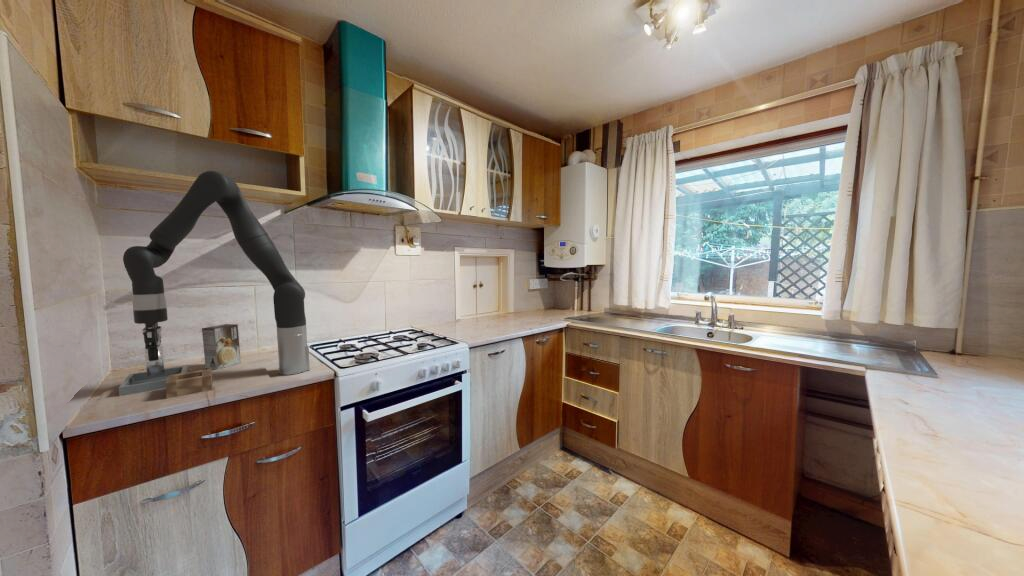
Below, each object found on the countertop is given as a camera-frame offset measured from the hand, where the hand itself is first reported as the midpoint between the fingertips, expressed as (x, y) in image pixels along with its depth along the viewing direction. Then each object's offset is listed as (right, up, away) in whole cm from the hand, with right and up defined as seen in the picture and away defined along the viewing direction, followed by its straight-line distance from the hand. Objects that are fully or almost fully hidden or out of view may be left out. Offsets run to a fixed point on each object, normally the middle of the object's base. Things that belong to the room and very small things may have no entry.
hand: (154, 358), depth 112 cm
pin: (0, -5, 0) cm, 5 cm away
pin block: (+17, -10, -5) cm, 21 cm away
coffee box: (+4, -8, +22) cm, 24 cm away
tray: (0, -9, +1) cm, 9 cm away
